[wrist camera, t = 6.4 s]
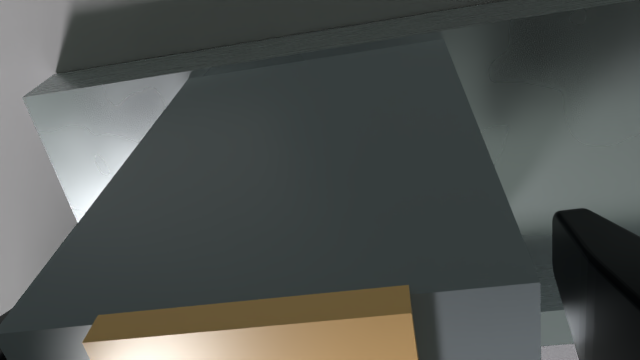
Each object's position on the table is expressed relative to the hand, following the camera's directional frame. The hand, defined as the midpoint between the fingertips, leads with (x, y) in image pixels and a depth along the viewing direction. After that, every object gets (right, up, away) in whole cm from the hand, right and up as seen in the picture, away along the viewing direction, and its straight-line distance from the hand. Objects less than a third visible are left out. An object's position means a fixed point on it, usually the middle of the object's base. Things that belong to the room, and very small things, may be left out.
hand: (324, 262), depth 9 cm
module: (0, +1, +2) cm, 2 cm away
